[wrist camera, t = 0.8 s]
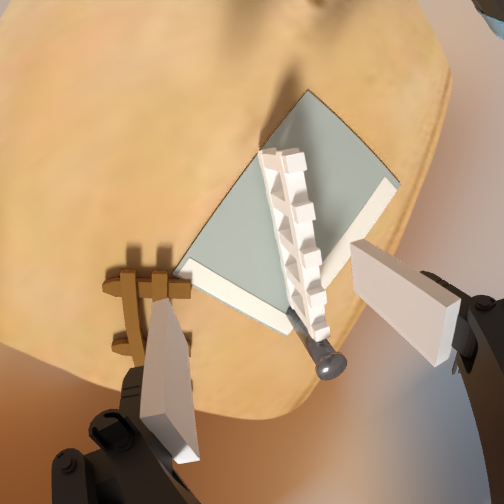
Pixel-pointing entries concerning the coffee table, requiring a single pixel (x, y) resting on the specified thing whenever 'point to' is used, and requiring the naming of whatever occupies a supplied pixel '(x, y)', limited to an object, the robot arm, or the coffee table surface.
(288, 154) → the fence panel
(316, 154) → the board
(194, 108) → the coffee table surface
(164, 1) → the coffee table surface
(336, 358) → the corner post
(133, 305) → the decorative fence
